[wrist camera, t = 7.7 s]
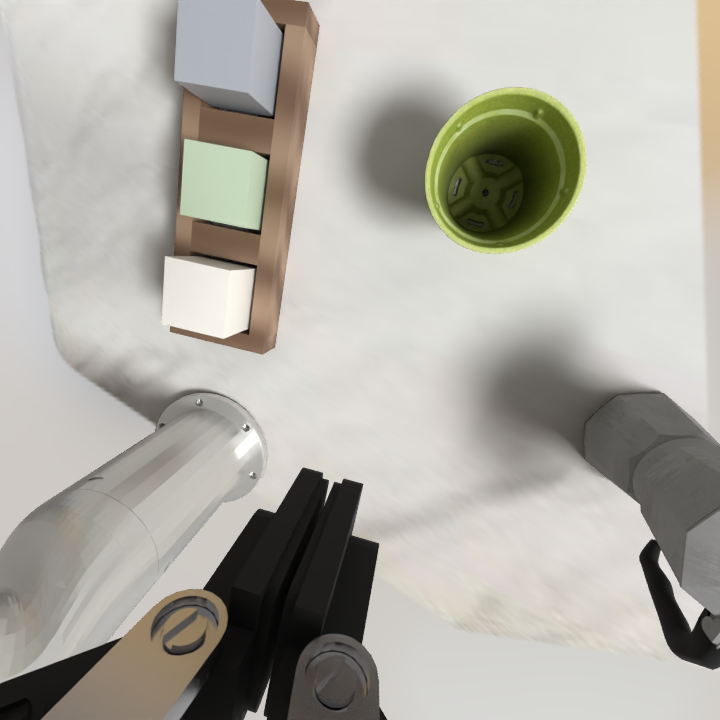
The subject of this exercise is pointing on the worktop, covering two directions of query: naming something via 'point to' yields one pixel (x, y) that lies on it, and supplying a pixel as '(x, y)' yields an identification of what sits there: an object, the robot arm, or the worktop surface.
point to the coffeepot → (668, 507)
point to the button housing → (284, 153)
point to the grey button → (229, 54)
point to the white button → (207, 295)
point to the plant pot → (505, 170)
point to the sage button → (223, 184)
